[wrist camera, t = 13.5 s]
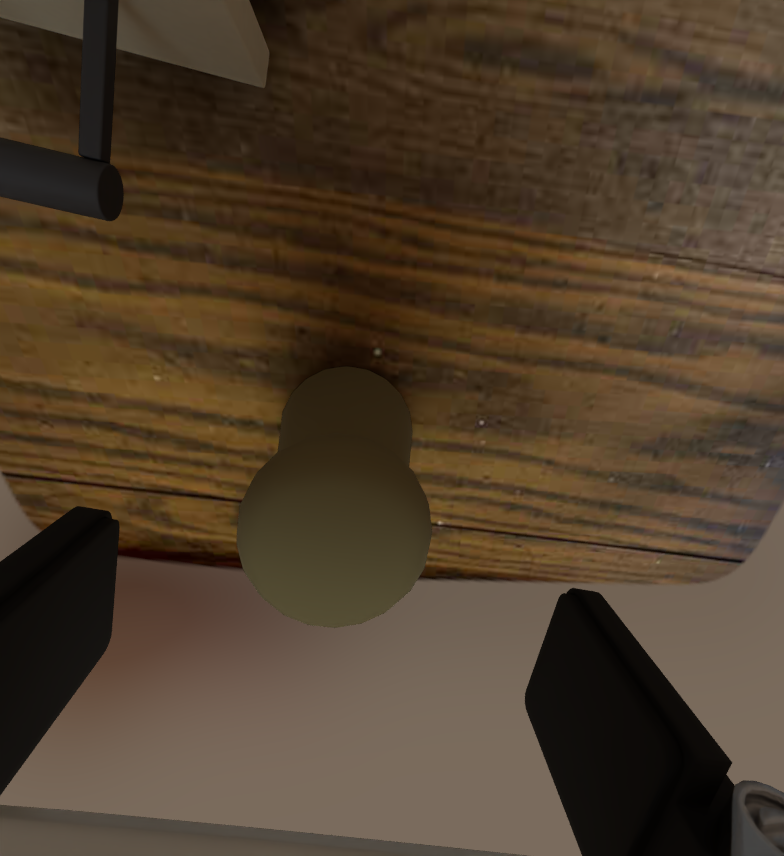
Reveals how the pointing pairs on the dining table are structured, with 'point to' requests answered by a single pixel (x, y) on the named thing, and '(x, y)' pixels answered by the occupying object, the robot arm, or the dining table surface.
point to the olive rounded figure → (337, 504)
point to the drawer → (102, 34)
